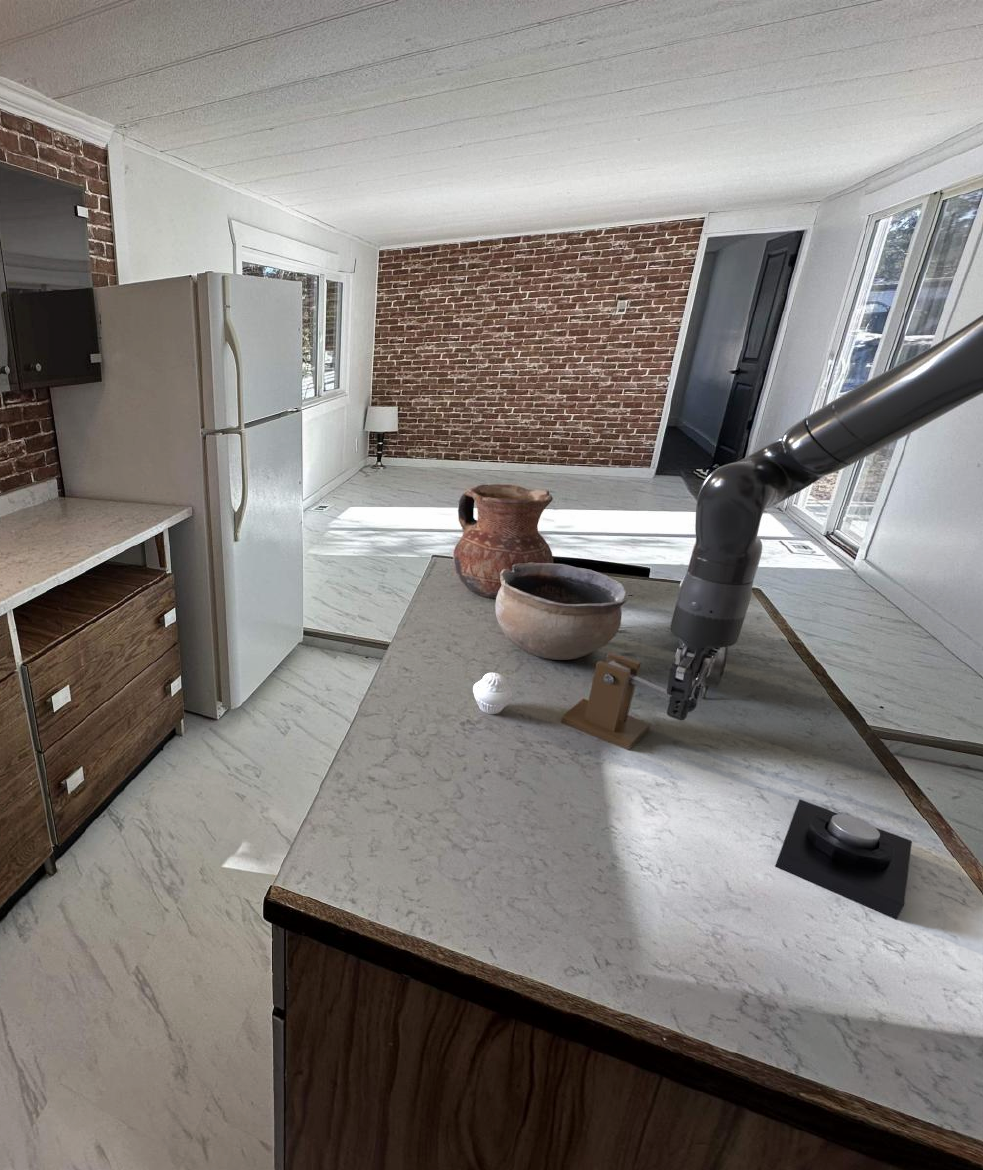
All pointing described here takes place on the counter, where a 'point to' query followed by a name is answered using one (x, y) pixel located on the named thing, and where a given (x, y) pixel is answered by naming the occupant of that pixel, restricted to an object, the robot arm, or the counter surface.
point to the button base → (846, 861)
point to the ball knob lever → (650, 686)
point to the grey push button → (853, 831)
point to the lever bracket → (609, 705)
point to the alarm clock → (716, 671)
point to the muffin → (492, 693)
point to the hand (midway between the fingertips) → (680, 711)
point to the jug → (499, 534)
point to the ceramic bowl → (558, 609)
